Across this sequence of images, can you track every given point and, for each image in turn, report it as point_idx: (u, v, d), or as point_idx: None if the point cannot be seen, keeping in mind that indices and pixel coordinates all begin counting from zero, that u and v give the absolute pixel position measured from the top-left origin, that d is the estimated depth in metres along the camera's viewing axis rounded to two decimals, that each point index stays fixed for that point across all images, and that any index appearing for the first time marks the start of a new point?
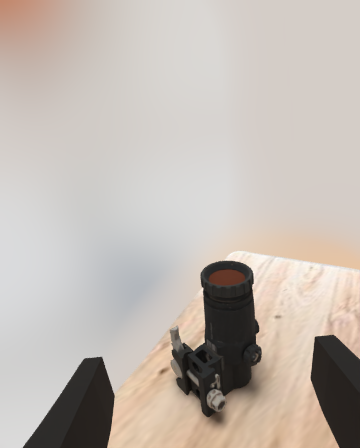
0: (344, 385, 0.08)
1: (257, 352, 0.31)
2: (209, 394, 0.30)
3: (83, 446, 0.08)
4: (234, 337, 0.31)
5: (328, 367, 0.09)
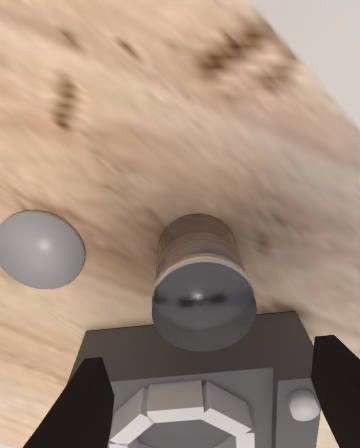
0: (344, 385, 0.08)
1: None
2: None
3: (83, 446, 0.08)
4: None
5: (328, 367, 0.09)
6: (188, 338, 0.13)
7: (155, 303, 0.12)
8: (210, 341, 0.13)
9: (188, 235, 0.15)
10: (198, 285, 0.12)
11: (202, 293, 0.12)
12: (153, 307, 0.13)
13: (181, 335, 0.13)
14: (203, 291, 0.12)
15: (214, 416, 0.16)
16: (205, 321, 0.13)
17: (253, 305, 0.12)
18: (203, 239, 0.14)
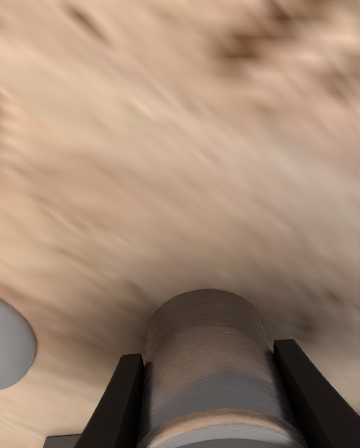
0: (295, 389, 0.08)
1: None
2: None
3: (131, 442, 0.08)
4: None
5: (283, 371, 0.09)
6: None
7: None
8: None
9: (194, 344, 0.09)
10: None
11: None
12: None
13: None
14: None
15: None
16: None
17: None
18: (222, 359, 0.08)
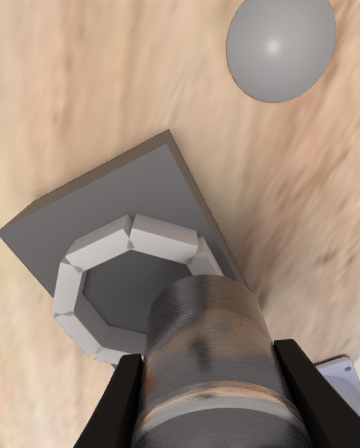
0: (295, 389, 0.08)
1: None
2: None
3: None
4: None
5: (283, 371, 0.09)
6: None
7: None
8: None
9: (202, 322, 0.09)
10: None
11: None
12: None
13: None
14: None
15: None
16: None
17: None
18: (229, 339, 0.08)
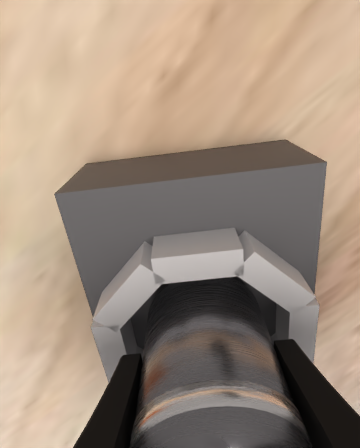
0: (295, 389, 0.08)
1: None
2: None
3: None
4: None
5: (283, 371, 0.09)
6: None
7: None
8: None
9: (202, 321, 0.09)
10: None
11: None
12: None
13: None
14: None
15: None
16: None
17: None
18: (229, 337, 0.08)
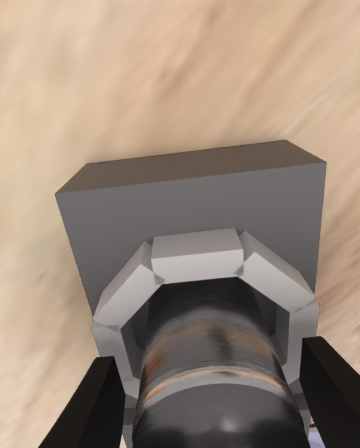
0: (329, 386, 0.08)
1: None
2: None
3: (98, 445, 0.08)
4: None
5: (314, 368, 0.09)
6: None
7: (139, 447, 0.07)
8: None
9: (200, 309, 0.09)
10: (220, 428, 0.07)
11: (225, 439, 0.07)
12: None
13: None
14: (227, 437, 0.07)
15: (289, 374, 0.12)
16: None
17: None
18: (226, 323, 0.09)
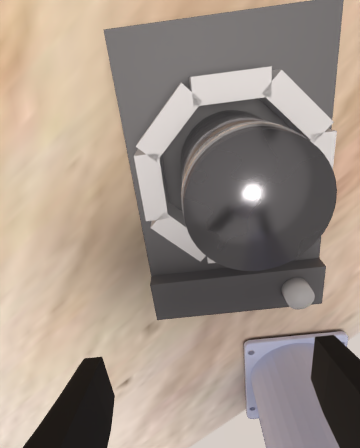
0: (344, 385, 0.08)
1: None
2: None
3: (83, 446, 0.08)
4: None
5: (328, 367, 0.09)
6: (227, 247, 0.09)
7: (193, 180, 0.08)
8: (257, 255, 0.09)
9: (235, 116, 0.11)
10: (262, 155, 0.08)
11: (265, 170, 0.08)
12: (188, 187, 0.08)
13: (219, 240, 0.09)
14: (266, 168, 0.08)
15: None
16: (257, 221, 0.09)
17: (331, 201, 0.09)
18: (259, 118, 0.10)
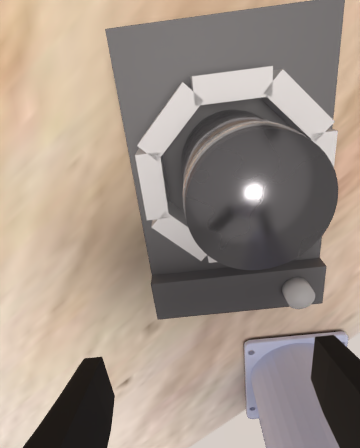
0: (344, 385, 0.08)
1: None
2: None
3: (83, 446, 0.08)
4: None
5: (328, 367, 0.09)
6: (229, 246, 0.09)
7: (194, 179, 0.08)
8: (258, 254, 0.09)
9: (236, 116, 0.11)
10: (264, 155, 0.08)
11: (267, 169, 0.08)
12: (190, 186, 0.08)
13: (220, 239, 0.09)
14: (268, 167, 0.08)
15: None
16: (259, 220, 0.09)
17: (333, 201, 0.09)
18: (260, 118, 0.10)
